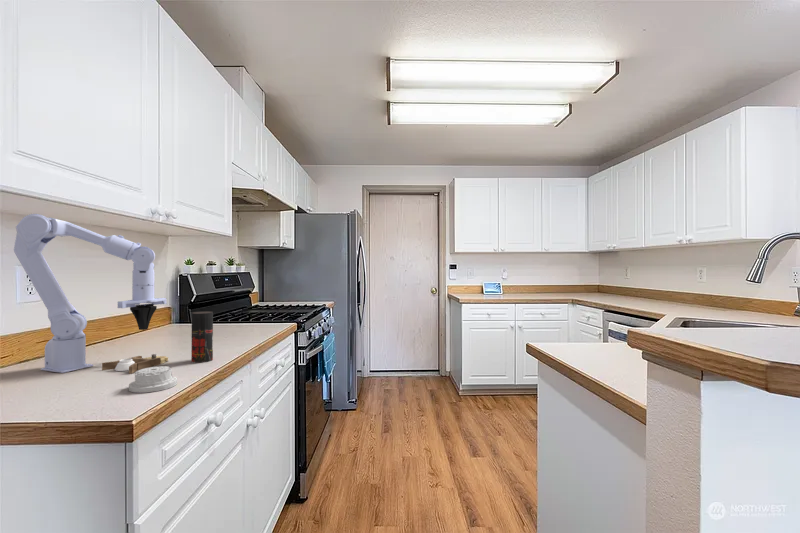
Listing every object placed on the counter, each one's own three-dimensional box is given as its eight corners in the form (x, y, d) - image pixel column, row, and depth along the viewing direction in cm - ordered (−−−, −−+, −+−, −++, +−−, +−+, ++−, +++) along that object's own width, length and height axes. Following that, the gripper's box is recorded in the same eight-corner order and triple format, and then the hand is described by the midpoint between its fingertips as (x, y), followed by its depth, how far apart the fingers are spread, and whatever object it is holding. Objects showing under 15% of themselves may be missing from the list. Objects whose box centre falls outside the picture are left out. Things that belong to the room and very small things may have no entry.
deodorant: (189, 360, 120) (189, 312, 120) (209, 357, 124) (209, 311, 124) (194, 363, 116) (194, 314, 116) (215, 360, 120) (215, 312, 120)
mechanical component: (117, 392, 90) (153, 395, 88) (118, 373, 90) (153, 376, 88) (153, 380, 100) (186, 382, 98) (153, 363, 100) (186, 365, 98)
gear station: (100, 370, 108) (100, 361, 108) (150, 358, 123) (150, 350, 123) (130, 374, 105) (130, 365, 105) (179, 361, 119) (179, 353, 119)
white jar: (120, 368, 111) (111, 372, 107) (120, 358, 111) (111, 362, 107) (139, 367, 113) (132, 371, 108) (139, 357, 113) (132, 361, 108)
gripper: (129, 286, 110) (129, 334, 110) (174, 284, 124) (173, 326, 124) (112, 286, 113) (112, 332, 113) (157, 284, 126) (157, 325, 126)
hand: (143, 329), depth 119 cm, fingers closed
